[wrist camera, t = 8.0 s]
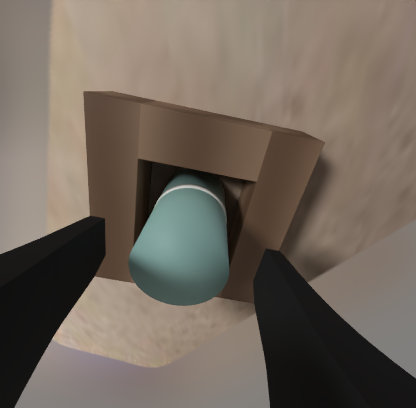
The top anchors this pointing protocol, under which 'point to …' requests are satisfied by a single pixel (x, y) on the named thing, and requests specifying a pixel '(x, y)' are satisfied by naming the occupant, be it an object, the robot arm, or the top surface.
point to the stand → (198, 160)
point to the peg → (184, 242)
